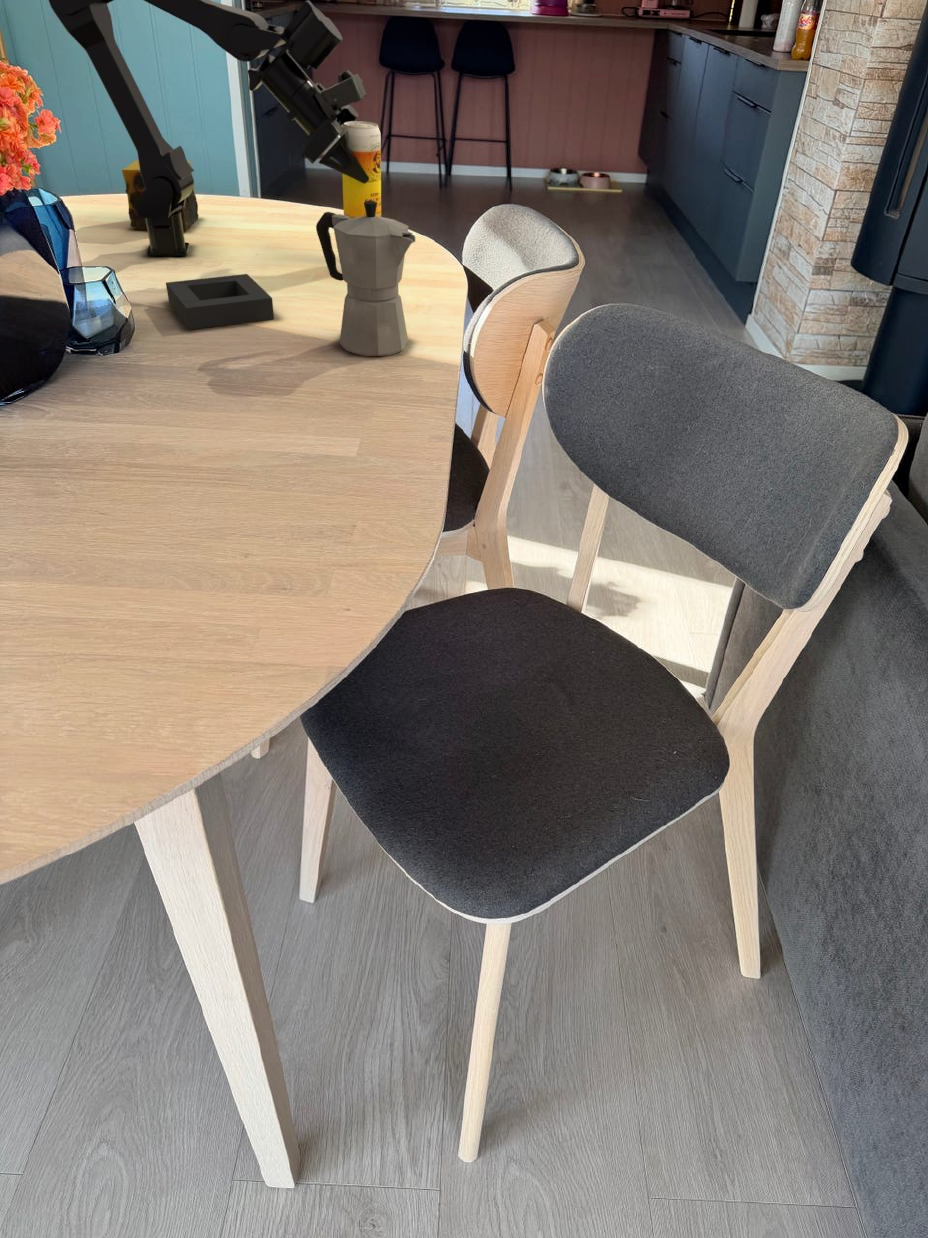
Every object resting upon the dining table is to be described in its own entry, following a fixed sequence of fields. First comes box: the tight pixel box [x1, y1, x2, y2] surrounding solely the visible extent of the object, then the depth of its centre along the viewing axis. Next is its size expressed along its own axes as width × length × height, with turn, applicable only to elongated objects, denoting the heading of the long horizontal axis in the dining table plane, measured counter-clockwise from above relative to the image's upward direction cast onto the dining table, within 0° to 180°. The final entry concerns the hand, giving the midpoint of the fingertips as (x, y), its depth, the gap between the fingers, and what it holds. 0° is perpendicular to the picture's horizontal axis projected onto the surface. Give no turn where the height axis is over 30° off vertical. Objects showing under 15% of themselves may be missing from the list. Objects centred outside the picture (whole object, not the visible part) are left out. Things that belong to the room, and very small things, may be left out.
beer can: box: [341, 120, 382, 219], centre depth 143 cm, size 6×6×15 cm
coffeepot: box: [315, 200, 417, 357], centre depth 116 cm, size 15×9×18 cm, turn 57°
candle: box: [121, 159, 199, 232], centre depth 163 cm, size 10×10×10 cm
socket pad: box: [165, 273, 275, 331], centre depth 128 cm, size 12×12×3 cm
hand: (370, 177), depth 143 cm, fingers closed on beer can, 6 cm apart
